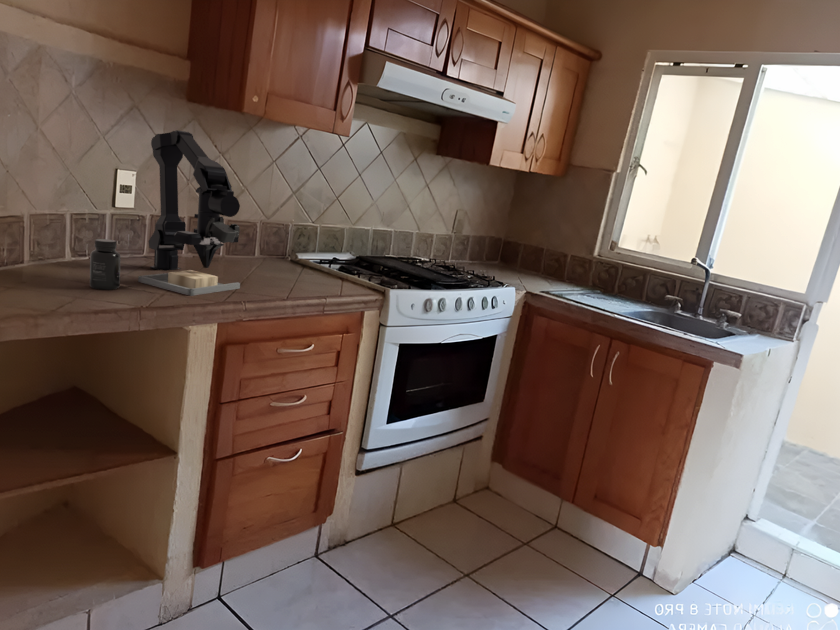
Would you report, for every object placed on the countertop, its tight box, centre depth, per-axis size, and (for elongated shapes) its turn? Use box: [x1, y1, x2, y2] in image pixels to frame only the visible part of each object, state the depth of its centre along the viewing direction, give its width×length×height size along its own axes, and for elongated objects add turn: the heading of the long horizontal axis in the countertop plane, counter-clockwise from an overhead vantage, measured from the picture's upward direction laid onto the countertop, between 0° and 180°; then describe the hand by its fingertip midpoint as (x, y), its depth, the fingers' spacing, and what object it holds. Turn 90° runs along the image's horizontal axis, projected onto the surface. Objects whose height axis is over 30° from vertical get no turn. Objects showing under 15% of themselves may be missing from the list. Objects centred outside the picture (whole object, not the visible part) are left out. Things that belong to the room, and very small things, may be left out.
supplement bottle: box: [89, 238, 121, 291], centre depth 156 cm, size 7×7×12 cm
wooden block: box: [167, 269, 219, 289], centre depth 170 cm, size 10×3×8 cm
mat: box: [137, 272, 241, 297], centre depth 170 cm, size 19×18×2 cm
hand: (206, 267), depth 173 cm, fingers closed
